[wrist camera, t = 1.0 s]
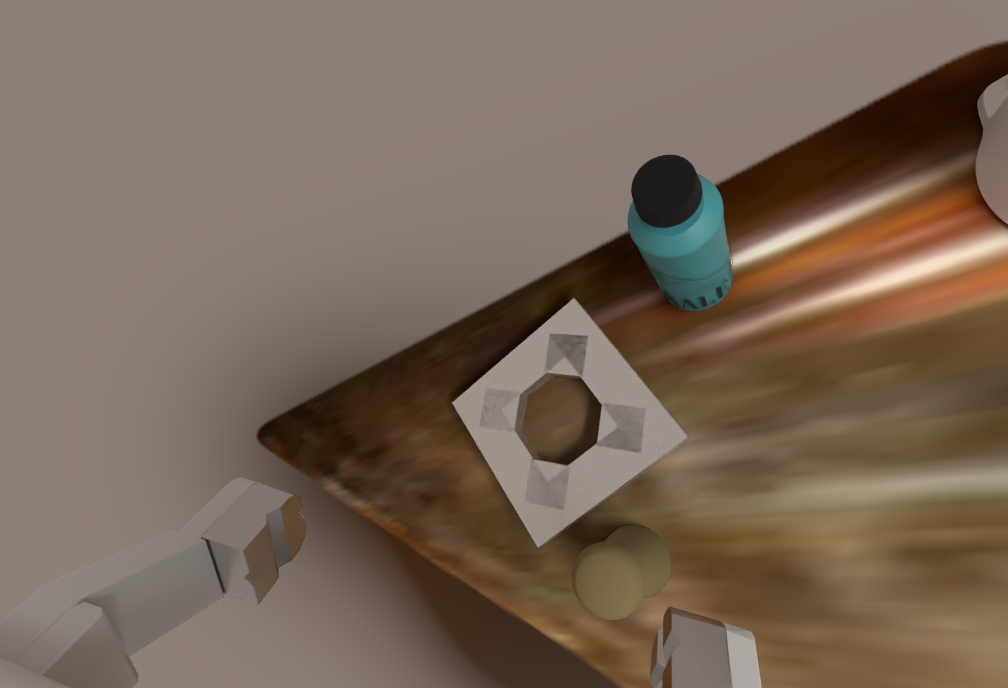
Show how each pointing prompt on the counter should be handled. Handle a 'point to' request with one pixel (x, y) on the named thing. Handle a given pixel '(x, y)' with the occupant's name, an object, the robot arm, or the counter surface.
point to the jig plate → (622, 431)
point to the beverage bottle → (681, 232)
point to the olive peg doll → (621, 572)
